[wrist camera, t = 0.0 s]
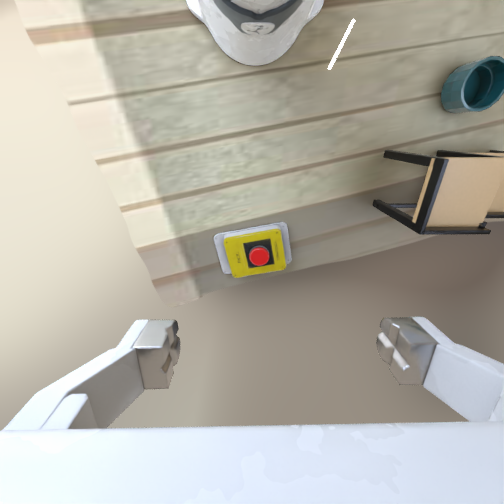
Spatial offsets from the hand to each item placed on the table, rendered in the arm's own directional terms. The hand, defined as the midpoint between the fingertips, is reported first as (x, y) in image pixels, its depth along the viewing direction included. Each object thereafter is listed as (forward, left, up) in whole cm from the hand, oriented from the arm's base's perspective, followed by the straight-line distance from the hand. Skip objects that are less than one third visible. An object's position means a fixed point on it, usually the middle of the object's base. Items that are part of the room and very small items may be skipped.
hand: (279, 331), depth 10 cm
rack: (+1, +33, -39) cm, 51 cm away
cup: (-13, +33, -39) cm, 53 cm away
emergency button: (+15, 0, -39) cm, 42 cm away
